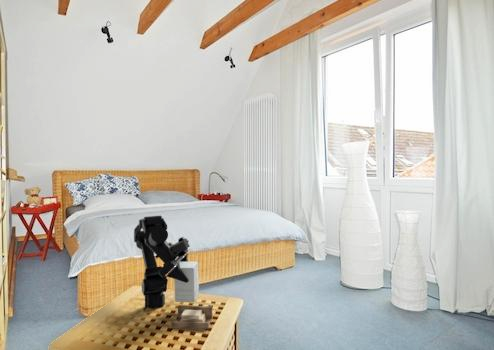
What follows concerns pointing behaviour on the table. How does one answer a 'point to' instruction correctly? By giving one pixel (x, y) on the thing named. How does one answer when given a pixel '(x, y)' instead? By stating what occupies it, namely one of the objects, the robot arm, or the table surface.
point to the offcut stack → (193, 316)
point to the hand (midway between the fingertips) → (190, 277)
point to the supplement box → (189, 289)
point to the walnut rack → (193, 325)
